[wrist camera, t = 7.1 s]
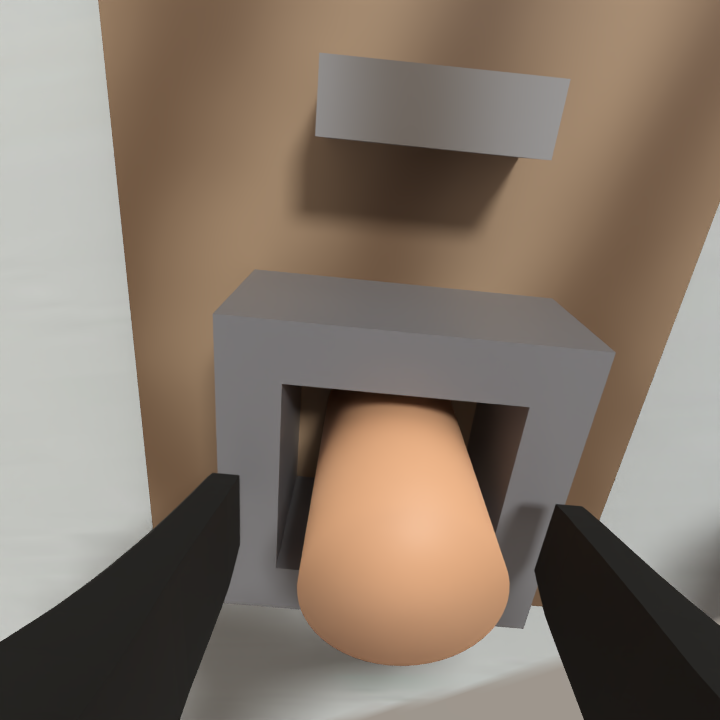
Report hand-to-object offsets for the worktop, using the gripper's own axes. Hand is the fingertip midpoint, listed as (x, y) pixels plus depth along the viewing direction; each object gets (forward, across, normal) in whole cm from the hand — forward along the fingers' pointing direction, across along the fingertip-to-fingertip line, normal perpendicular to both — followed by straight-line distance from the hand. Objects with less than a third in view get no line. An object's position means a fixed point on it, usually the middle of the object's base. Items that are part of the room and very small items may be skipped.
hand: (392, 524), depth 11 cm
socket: (+6, 0, 0) cm, 6 cm away
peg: (+5, 0, 0) cm, 5 cm away
